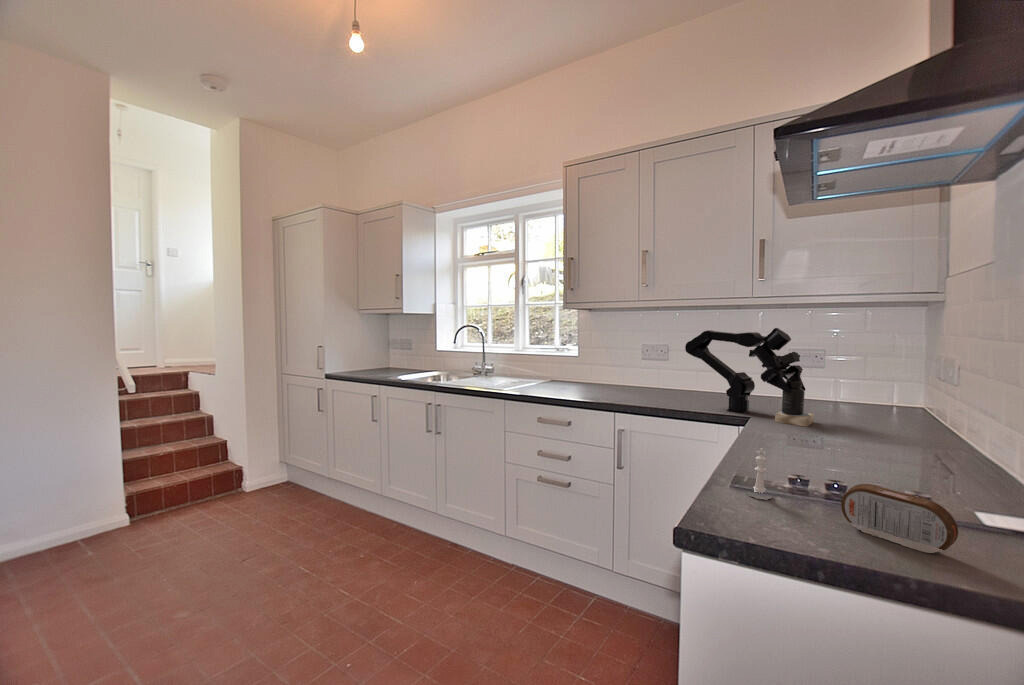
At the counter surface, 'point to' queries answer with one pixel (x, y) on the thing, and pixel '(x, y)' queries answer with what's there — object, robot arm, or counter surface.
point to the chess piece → (760, 472)
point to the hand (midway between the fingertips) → (797, 391)
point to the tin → (900, 515)
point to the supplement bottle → (793, 398)
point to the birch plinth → (795, 419)
